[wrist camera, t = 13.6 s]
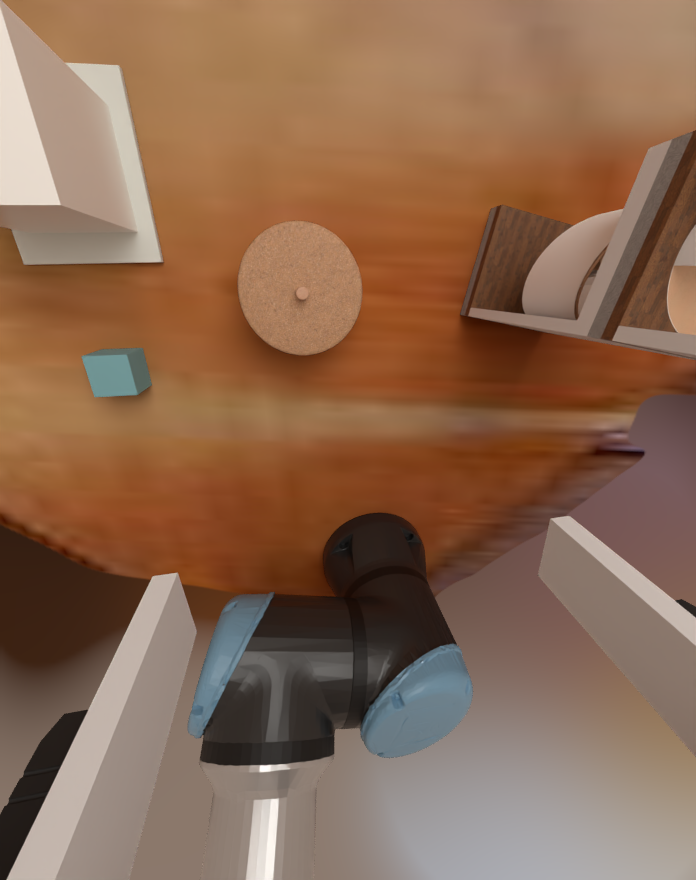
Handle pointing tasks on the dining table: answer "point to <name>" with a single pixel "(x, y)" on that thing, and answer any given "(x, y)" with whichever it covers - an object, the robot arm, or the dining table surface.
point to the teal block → (117, 372)
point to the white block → (55, 143)
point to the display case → (601, 264)
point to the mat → (145, 241)
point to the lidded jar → (299, 288)
